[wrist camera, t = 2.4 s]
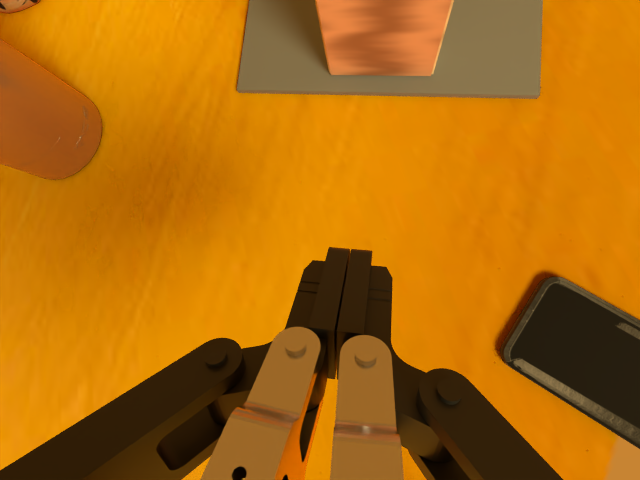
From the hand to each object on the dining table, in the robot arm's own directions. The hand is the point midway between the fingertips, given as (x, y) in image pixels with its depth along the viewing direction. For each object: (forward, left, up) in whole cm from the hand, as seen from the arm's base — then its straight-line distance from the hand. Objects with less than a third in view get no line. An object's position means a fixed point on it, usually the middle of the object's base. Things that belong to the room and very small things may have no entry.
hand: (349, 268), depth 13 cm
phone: (+19, -5, -18) cm, 26 cm away
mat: (0, +24, -17) cm, 30 cm away
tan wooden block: (0, +19, -17) cm, 25 cm away
